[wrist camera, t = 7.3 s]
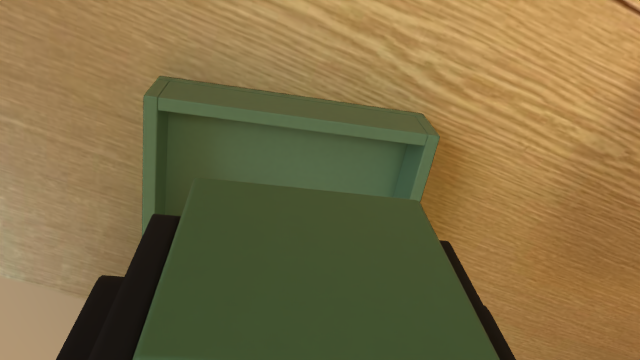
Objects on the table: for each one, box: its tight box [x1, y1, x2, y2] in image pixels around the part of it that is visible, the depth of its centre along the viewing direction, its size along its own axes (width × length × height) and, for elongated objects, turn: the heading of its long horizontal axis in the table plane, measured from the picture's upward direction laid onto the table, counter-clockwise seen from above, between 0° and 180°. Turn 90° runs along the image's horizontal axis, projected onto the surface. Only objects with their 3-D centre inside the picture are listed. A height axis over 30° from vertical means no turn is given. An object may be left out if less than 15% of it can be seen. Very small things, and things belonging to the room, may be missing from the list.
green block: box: [133, 177, 500, 360], centre depth 9 cm, size 4×4×4 cm
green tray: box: [142, 76, 440, 237], centre depth 25 cm, size 13×11×3 cm
